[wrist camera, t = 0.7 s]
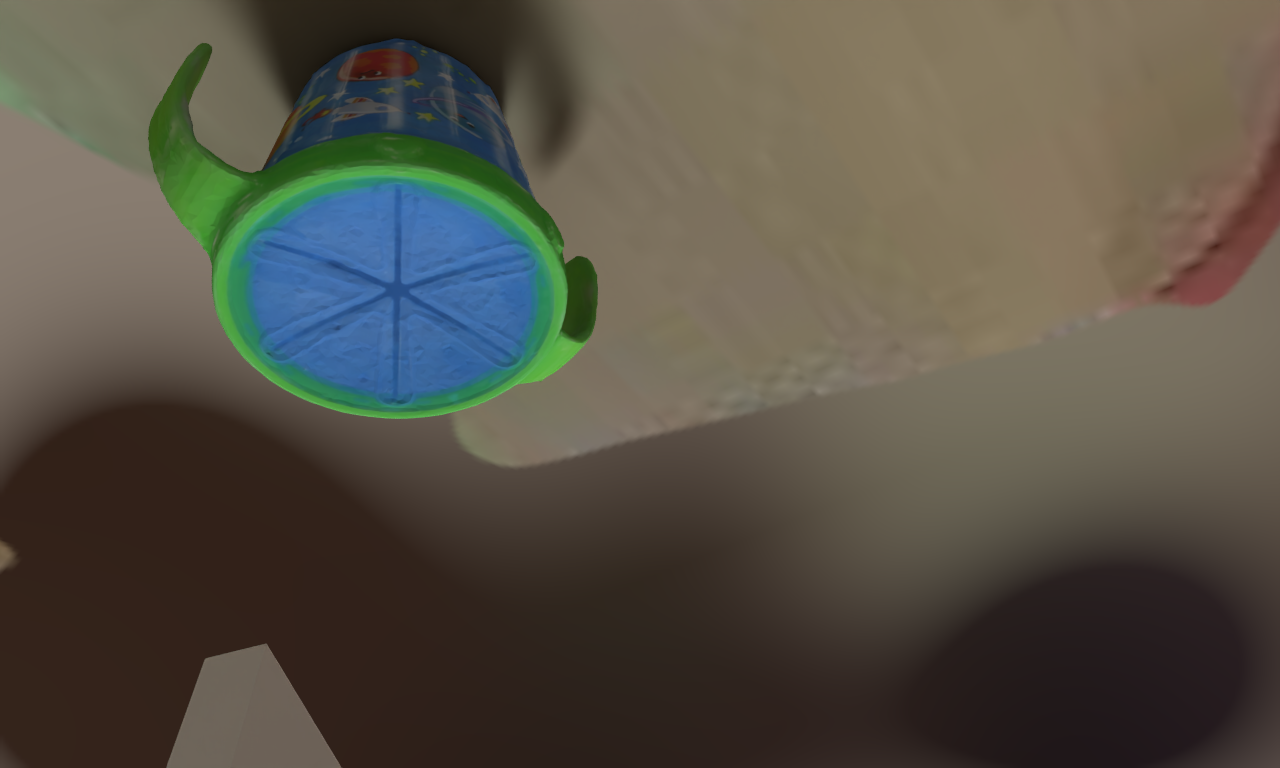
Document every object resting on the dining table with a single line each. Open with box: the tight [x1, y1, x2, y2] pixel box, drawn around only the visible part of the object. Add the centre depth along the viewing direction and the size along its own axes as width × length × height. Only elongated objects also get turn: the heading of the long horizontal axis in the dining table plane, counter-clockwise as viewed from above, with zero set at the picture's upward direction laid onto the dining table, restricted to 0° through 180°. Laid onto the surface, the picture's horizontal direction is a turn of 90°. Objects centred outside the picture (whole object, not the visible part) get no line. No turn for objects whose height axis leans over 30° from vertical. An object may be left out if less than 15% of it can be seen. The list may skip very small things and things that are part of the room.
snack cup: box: [148, 38, 598, 418], centre depth 32 cm, size 16×10×10 cm
